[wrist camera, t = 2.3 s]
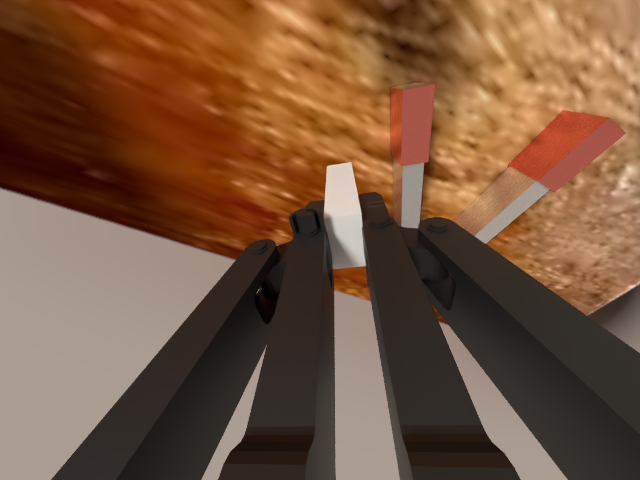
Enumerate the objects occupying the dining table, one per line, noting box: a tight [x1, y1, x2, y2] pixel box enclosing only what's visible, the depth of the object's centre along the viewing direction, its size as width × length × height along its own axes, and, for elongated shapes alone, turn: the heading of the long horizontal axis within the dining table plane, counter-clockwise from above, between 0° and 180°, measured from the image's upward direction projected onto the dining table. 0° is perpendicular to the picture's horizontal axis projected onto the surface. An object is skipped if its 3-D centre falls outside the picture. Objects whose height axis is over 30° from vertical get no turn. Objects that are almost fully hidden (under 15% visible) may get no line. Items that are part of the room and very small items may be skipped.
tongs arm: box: [390, 82, 435, 228], centre depth 21 cm, size 16×2×4 cm, turn 10°
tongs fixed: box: [453, 110, 626, 244], centre depth 22 cm, size 20×5×4 cm, turn 152°
